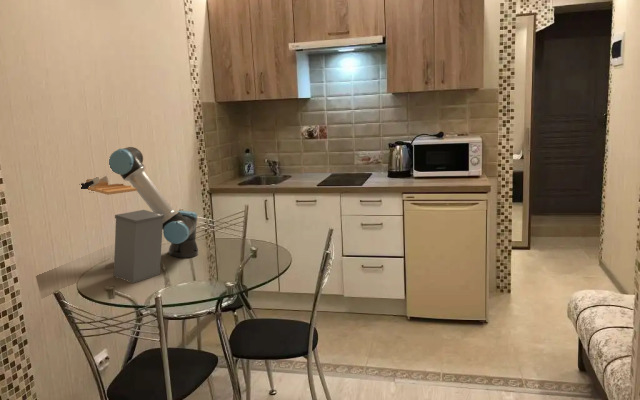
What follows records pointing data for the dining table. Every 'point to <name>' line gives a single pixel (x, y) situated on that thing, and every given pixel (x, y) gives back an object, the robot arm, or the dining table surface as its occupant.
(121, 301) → the dining table surface
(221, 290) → the dining table surface
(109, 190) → the lid
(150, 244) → the tall grey box
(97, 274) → the dining table surface
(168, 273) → the dining table surface
